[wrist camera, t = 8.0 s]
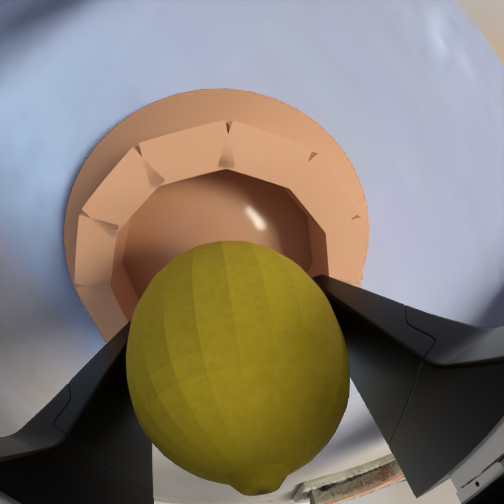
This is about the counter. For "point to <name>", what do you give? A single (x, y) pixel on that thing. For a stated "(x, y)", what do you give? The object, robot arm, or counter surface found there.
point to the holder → (209, 196)
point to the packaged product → (351, 482)
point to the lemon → (237, 365)
